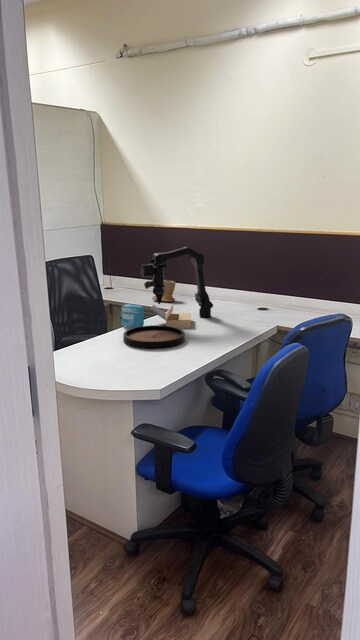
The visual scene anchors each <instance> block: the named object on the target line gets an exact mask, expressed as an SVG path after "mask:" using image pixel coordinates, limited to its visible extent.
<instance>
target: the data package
mask: <svg viewBox="0 0 360 640" xmlns="http://www.w3.org/2000/svg"><path fill="white" fill-rule="evenodd" d="M144 310H145V309H144V306H143V305H140V304H128V303H127V304H124V305H122V306H121V311H120V313H121V314H120V315H121V325H122V326H123V327H126V328H134V327H140V326H145V311H144Z"/></svg>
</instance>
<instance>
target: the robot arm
mask: <svg viewBox="0 0 360 640" xmlns="http://www.w3.org/2000/svg"><path fill="white" fill-rule="evenodd" d="M181 256H182V257H183V256H187V257H188V258H190V261H191V264H192V266H193V267H194V273H195V279H196V287H197V288H196V289H197V292H196V293H194V297H195V301H196V303H197V304H198V306H199V307H200V308H199V309H198V310H199V312H198V313H199V314H198V315H199V317H200V319H201V318H202V319H203V318H205V319H206V318H210V319H211V318H212V313H211V312H212V309H213V307H214V304H213V303H212V302H211V300H210V297H209V294H208V292H207V290H206V283H205V275H204V266H205V265H204V264H205V255H204V254H203V253H201V252H197V251H195V250H194V249H192V248H191V247H189V246H183V247H181V248H177V249H174V250H171V251H167V252H155V253H153V254H152V257H151V259H150V260H149V263H148V264H142V265H141V267H140V270H139V272H140V277H142V278H146V277H147V278H148V277H153V278H152V279H151V280H147V281H145V282H143V285H144V288H145V289H146V290H147V289H149V288H151V287H153V288H152V294H153V295H154V296H156V298H157V300H156V302H157V304H158V305H160V304H161V302H162V301H161V300H162V297H163V294H164V289H165V283H164V280H165V274H164V272H165V271H164V269H165V268H168V265H166V263H167V262H168V261H169V260H171V259H175V258H178V257H181ZM163 287H164V288H163Z"/></svg>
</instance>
